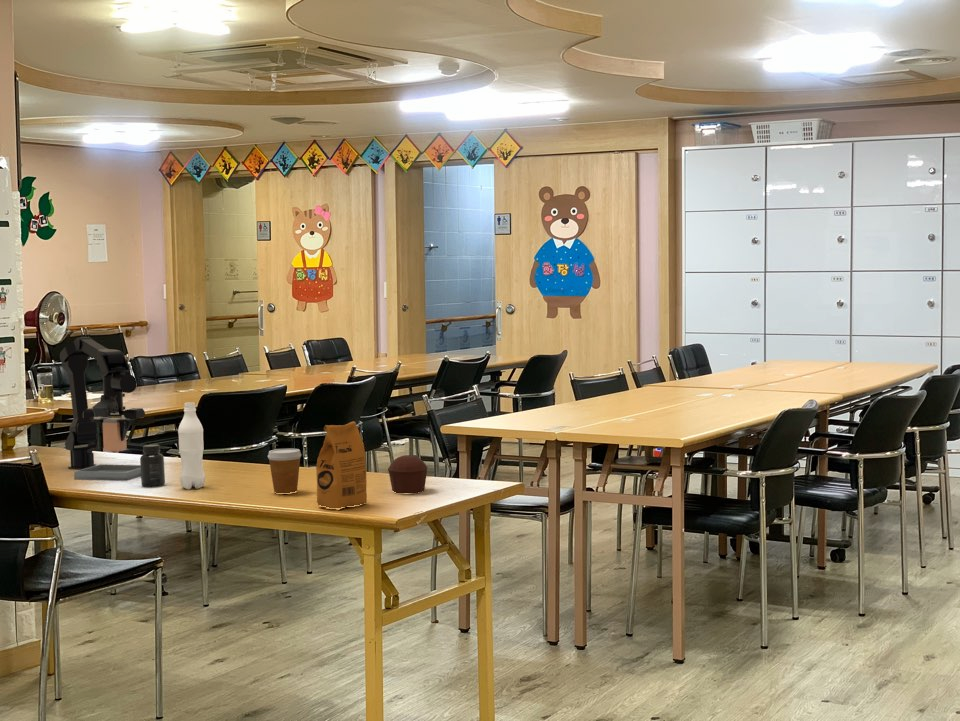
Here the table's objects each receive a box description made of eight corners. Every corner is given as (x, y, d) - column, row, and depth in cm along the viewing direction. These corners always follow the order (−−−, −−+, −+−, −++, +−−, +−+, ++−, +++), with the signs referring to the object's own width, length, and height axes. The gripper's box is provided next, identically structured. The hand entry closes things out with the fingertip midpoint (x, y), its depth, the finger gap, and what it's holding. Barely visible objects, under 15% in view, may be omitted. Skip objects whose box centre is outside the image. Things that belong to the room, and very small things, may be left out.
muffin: (390, 488, 338) (389, 453, 337) (429, 487, 337) (428, 452, 337) (386, 495, 326) (385, 459, 325) (427, 495, 326) (426, 459, 325)
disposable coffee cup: (262, 492, 334) (261, 450, 333) (292, 488, 340) (291, 447, 339) (278, 497, 327) (277, 454, 326) (309, 493, 332) (307, 450, 332)
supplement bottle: (168, 483, 353) (167, 443, 352) (160, 487, 347) (158, 447, 346) (146, 483, 354) (144, 443, 353) (137, 487, 347) (135, 447, 346)
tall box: (103, 451, 369) (102, 419, 368) (112, 448, 374) (111, 417, 373) (117, 451, 368) (116, 419, 367) (126, 449, 373) (125, 417, 372)
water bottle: (210, 486, 347) (207, 401, 345) (196, 490, 340) (193, 404, 339) (189, 485, 349) (185, 401, 348) (175, 489, 343) (171, 403, 341)
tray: (74, 479, 365) (74, 471, 365) (99, 471, 378) (99, 464, 378) (126, 480, 360) (126, 472, 360) (150, 472, 374) (150, 465, 374)
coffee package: (311, 507, 311) (308, 424, 309) (347, 500, 320) (345, 419, 318) (335, 512, 304) (333, 427, 303) (372, 504, 313) (369, 422, 312)
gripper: (71, 393, 364) (73, 443, 365) (125, 394, 359) (127, 445, 360) (92, 389, 375) (94, 438, 376) (144, 390, 370) (146, 439, 371)
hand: (114, 440), depth 371 cm, fingers closed on tall box, 5 cm apart
